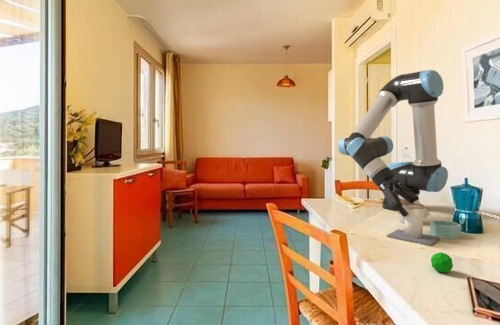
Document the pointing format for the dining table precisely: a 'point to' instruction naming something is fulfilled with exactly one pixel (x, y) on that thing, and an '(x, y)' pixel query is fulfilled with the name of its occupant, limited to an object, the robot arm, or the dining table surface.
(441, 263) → the polyhedron
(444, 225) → the bowl
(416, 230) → the tumbler
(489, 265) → the dining table surface
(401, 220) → the coffee cup
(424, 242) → the mat
